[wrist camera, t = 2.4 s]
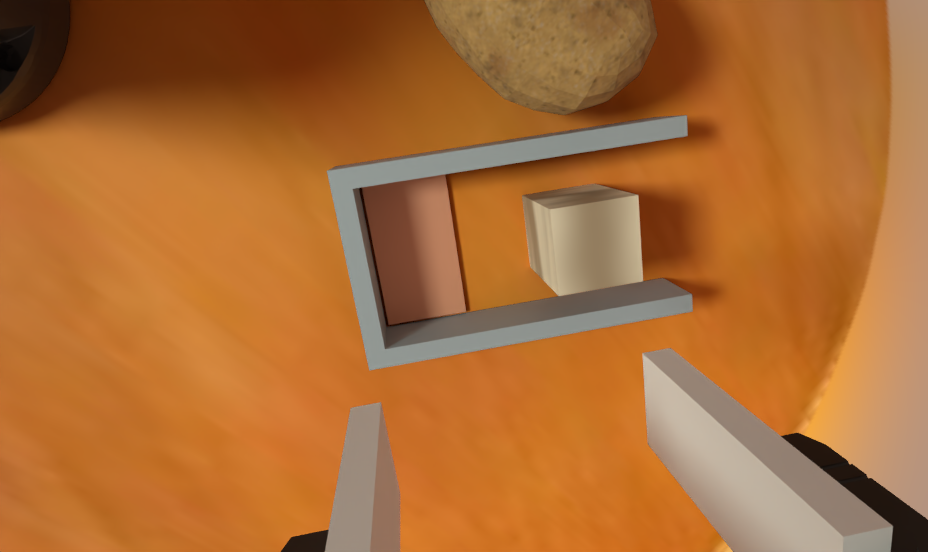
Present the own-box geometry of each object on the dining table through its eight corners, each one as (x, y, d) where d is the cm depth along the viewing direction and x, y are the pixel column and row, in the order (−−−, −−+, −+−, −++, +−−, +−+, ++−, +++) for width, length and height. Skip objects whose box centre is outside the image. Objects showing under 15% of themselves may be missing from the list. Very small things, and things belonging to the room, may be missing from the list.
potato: (465, -139, 30) (487, -231, 23) (646, 20, 34) (719, -13, 26) (372, 12, 32) (363, -26, 24) (554, 150, 35) (597, 155, 27)
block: (530, 266, 37) (558, 296, 30) (521, 195, 36) (549, 209, 29) (599, 254, 37) (643, 281, 31) (594, 183, 36) (638, 194, 29)
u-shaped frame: (372, 345, 37) (369, 370, 33) (335, 166, 34) (326, 170, 30) (663, 293, 39) (692, 311, 35) (655, 116, 35) (686, 115, 31)
